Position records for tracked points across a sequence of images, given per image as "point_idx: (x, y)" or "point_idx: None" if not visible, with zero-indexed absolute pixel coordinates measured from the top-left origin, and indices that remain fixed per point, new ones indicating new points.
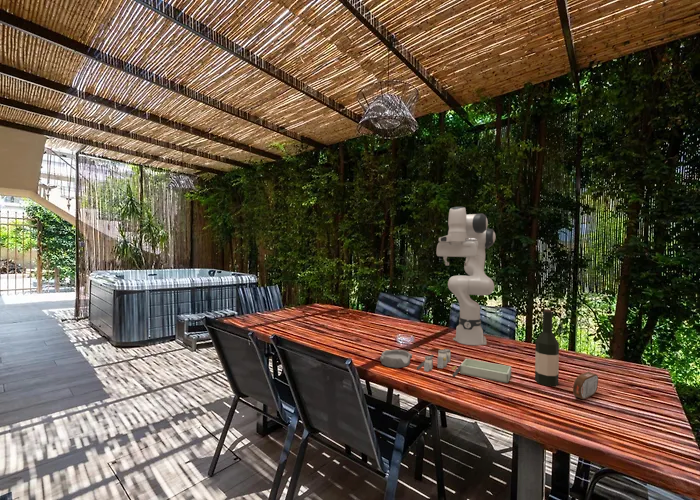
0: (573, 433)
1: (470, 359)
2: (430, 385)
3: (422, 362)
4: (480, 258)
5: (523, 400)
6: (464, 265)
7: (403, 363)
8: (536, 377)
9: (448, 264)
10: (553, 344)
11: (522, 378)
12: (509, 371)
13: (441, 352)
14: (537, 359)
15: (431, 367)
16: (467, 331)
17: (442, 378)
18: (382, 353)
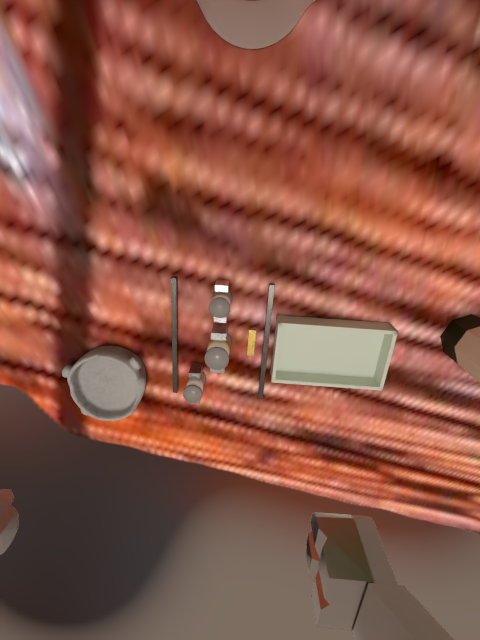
0: (441, 507)
1: (291, 325)
2: (227, 451)
3: (172, 357)
4: None
5: (392, 442)
6: (308, 562)
7: (140, 399)
8: (447, 347)
9: (4, 534)
10: None
11: (413, 335)
12: (388, 366)
13: (217, 369)
14: (477, 374)
15: (204, 382)
16: (249, 6)
17: (240, 412)
18: (76, 403)
